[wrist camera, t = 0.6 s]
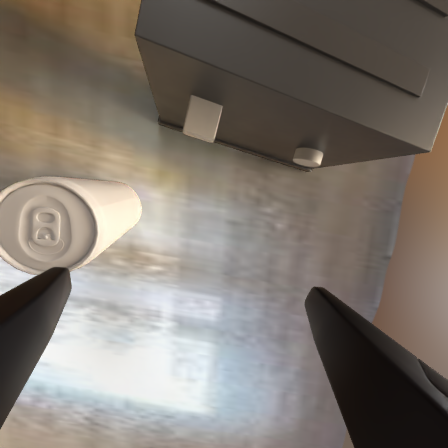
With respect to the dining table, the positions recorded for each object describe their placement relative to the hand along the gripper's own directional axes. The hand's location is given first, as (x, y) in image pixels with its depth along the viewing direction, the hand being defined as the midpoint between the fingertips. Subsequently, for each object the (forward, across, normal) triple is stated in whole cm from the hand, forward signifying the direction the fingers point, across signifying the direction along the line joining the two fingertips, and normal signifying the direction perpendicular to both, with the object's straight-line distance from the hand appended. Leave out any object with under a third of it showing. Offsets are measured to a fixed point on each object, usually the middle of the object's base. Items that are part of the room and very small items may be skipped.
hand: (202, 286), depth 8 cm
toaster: (+19, -5, -7) cm, 21 cm away
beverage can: (+15, +7, +5) cm, 17 cm away
